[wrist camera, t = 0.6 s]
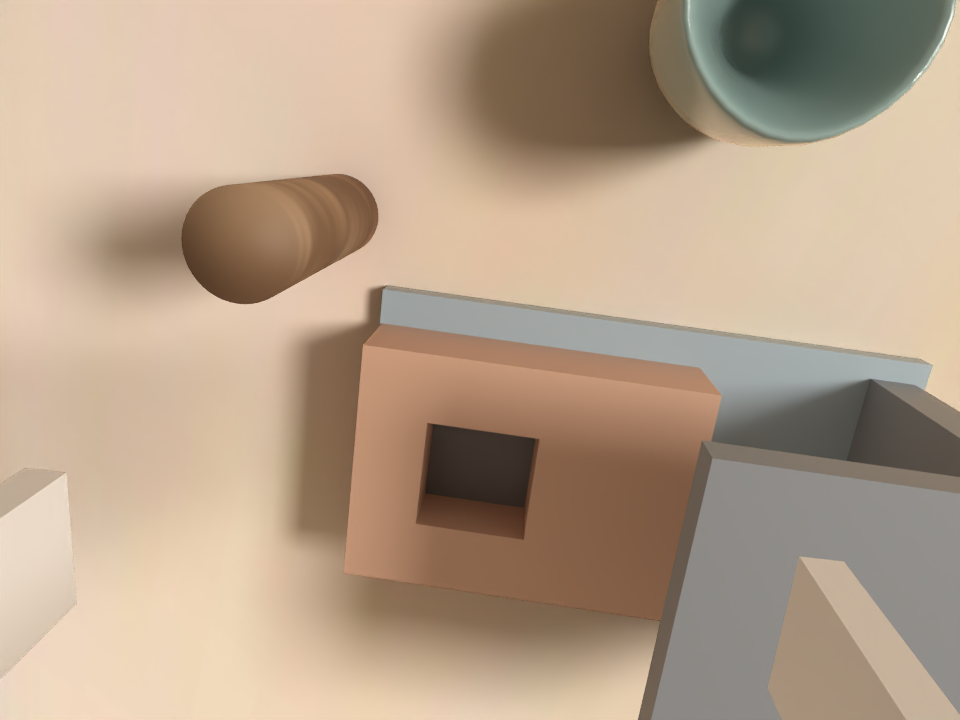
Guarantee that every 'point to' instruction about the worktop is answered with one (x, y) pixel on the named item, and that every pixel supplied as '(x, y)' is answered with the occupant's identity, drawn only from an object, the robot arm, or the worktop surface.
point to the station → (655, 481)
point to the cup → (791, 63)
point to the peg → (274, 233)
